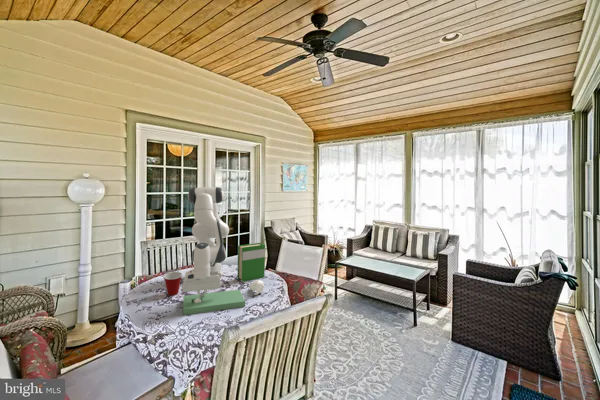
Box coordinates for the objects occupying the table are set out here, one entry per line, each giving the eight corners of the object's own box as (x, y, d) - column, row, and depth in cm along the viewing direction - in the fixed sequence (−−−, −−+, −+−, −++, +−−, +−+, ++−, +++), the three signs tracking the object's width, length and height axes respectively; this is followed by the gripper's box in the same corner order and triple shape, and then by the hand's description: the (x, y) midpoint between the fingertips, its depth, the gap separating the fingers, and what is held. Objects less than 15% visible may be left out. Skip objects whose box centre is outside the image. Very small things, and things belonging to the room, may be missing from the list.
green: (183, 301, 166) (183, 296, 165) (239, 294, 178) (239, 289, 177) (183, 314, 149) (183, 309, 149) (245, 306, 161) (245, 301, 161)
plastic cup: (160, 297, 169) (160, 277, 168) (165, 290, 180) (165, 272, 179) (180, 296, 171) (180, 277, 170) (184, 290, 182) (184, 271, 181)
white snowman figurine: (256, 282, 174) (245, 278, 183) (257, 296, 174) (246, 292, 183) (265, 280, 179) (254, 276, 187) (265, 293, 179) (254, 290, 187)
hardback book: (242, 281, 199) (242, 247, 197) (237, 278, 205) (237, 245, 203) (264, 277, 210) (264, 244, 208) (259, 274, 216) (259, 242, 214)
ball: (200, 304, 162) (193, 303, 161) (201, 297, 162) (194, 296, 161) (200, 307, 159) (193, 307, 157) (202, 300, 159) (194, 299, 157)
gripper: (220, 269, 166) (220, 292, 167) (182, 272, 159) (182, 297, 160) (222, 272, 161) (221, 297, 161) (182, 276, 153) (182, 301, 154)
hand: (201, 297), depth 161 cm, fingers closed
